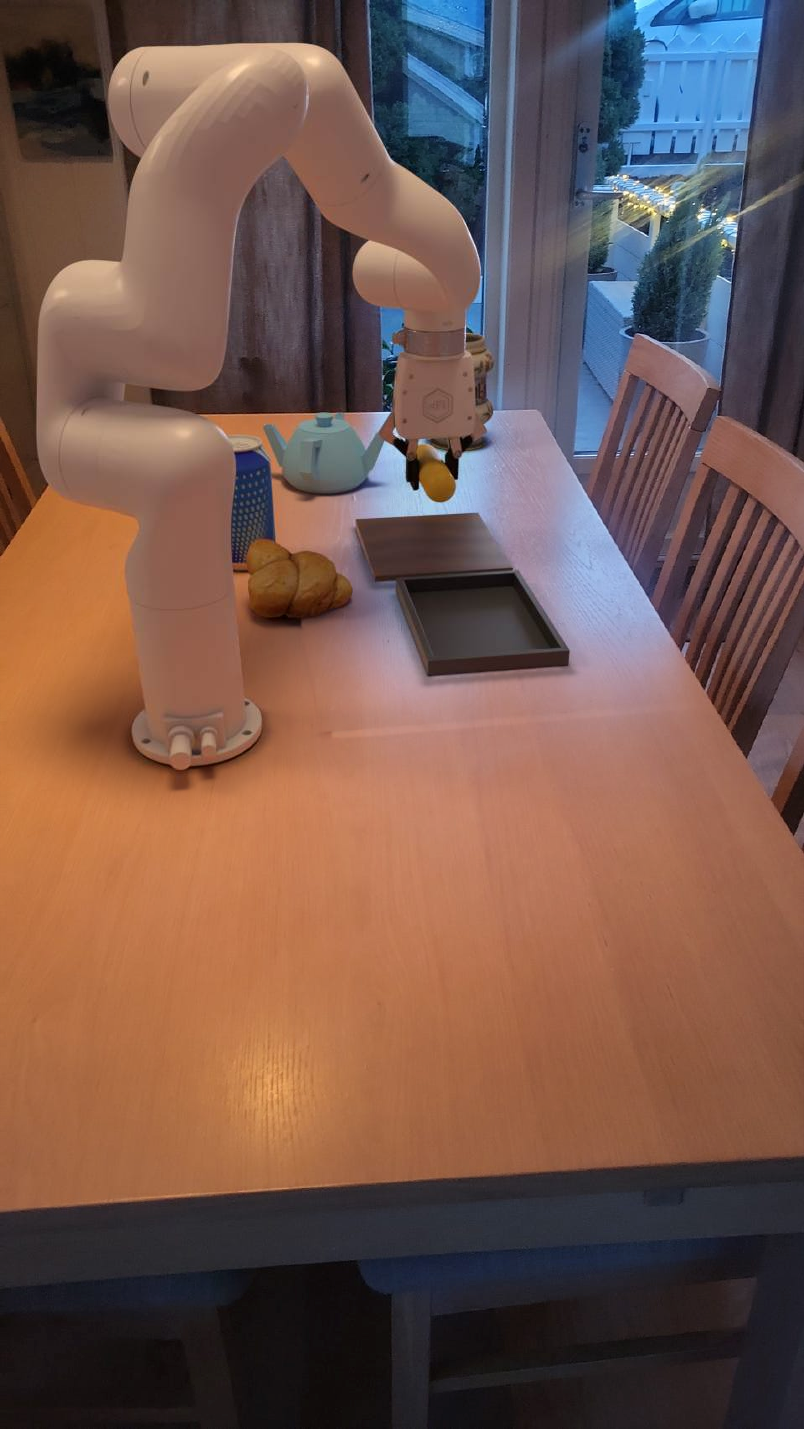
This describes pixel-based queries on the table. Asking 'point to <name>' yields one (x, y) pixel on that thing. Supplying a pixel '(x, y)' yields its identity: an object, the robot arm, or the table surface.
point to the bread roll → (292, 581)
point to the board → (429, 546)
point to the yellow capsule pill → (434, 474)
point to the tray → (479, 623)
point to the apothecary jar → (476, 385)
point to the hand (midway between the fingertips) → (431, 484)
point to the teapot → (324, 454)
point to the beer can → (250, 497)
